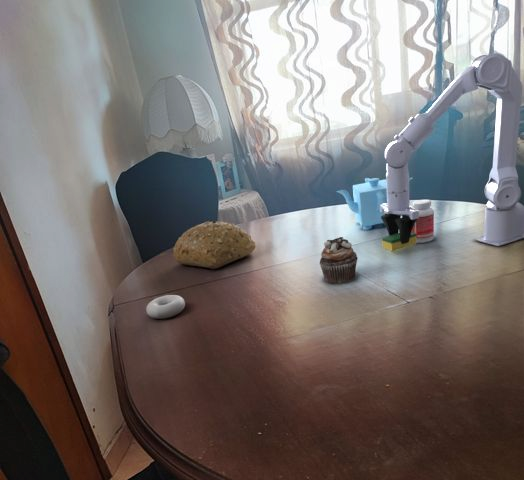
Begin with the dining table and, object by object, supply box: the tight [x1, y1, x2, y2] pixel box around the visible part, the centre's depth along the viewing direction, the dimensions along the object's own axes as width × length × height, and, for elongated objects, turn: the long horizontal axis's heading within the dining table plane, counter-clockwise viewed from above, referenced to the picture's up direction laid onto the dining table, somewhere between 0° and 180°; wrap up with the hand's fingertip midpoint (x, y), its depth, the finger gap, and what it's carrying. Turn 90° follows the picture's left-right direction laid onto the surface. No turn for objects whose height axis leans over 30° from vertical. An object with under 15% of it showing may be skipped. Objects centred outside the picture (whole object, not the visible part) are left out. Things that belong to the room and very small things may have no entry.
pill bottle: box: [411, 199, 435, 244], centre depth 132 cm, size 6×6×11 cm
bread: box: [172, 220, 256, 270], centre depth 150 cm, size 24×21×12 cm
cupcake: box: [319, 236, 358, 284], centre depth 118 cm, size 10×10×10 cm
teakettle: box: [335, 177, 414, 231], centre depth 154 cm, size 19×19×15 cm
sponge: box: [381, 232, 417, 252], centre depth 128 cm, size 8×4×3 cm, turn 111°
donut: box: [145, 294, 186, 320], centre depth 118 cm, size 10×3×10 cm
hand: (399, 241), depth 128 cm, fingers closed on sponge, 4 cm apart
